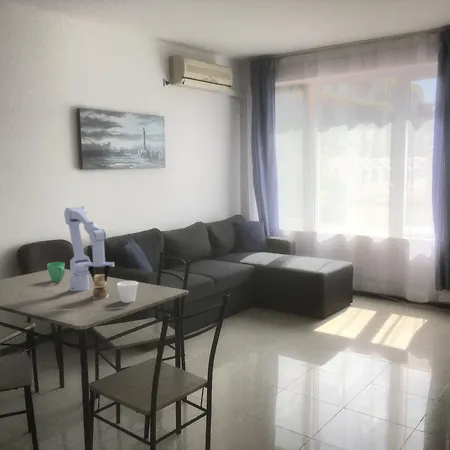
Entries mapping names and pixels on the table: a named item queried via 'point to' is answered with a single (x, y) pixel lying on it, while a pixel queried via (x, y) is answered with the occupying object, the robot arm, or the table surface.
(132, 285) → the cup
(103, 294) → the walnut block
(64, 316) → the table surface
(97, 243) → the robot arm
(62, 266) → the mug
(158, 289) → the table surface
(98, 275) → the oak cube
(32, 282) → the table surface
